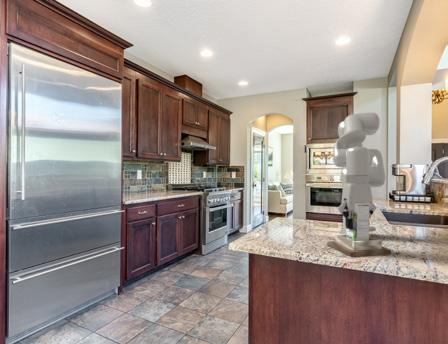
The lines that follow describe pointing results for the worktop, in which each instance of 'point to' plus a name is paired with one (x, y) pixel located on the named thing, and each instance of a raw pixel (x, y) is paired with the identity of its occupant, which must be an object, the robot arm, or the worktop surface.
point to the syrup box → (360, 223)
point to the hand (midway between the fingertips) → (357, 228)
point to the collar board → (358, 246)
